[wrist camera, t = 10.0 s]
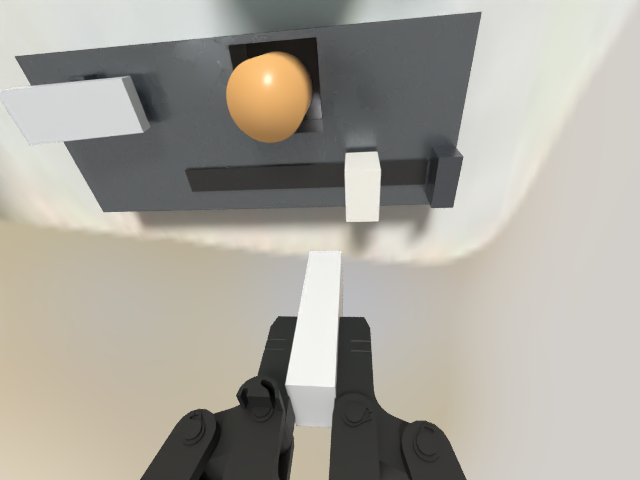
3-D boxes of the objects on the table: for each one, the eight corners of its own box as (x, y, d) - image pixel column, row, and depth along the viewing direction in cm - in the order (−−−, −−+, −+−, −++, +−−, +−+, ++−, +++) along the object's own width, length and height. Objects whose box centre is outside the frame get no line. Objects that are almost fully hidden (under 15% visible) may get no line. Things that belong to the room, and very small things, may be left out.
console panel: (128, 193, 32) (85, 225, 27) (58, 52, 25) (-19, 59, 20) (435, 183, 29) (453, 218, 23) (461, 13, 21) (497, 10, 16)
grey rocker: (42, 139, 23) (29, 145, 21) (11, 87, 21) (-6, 91, 19) (150, 127, 23) (143, 132, 22) (130, 75, 21) (121, 78, 20)
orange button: (255, 124, 24) (236, 144, 20) (242, 54, 21) (216, 60, 17) (315, 121, 23) (308, 140, 19) (309, 48, 20) (299, 53, 16)
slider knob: (347, 199, 25) (346, 221, 22) (345, 152, 23) (344, 171, 20) (375, 198, 25) (378, 221, 22) (377, 151, 23) (380, 170, 20)
